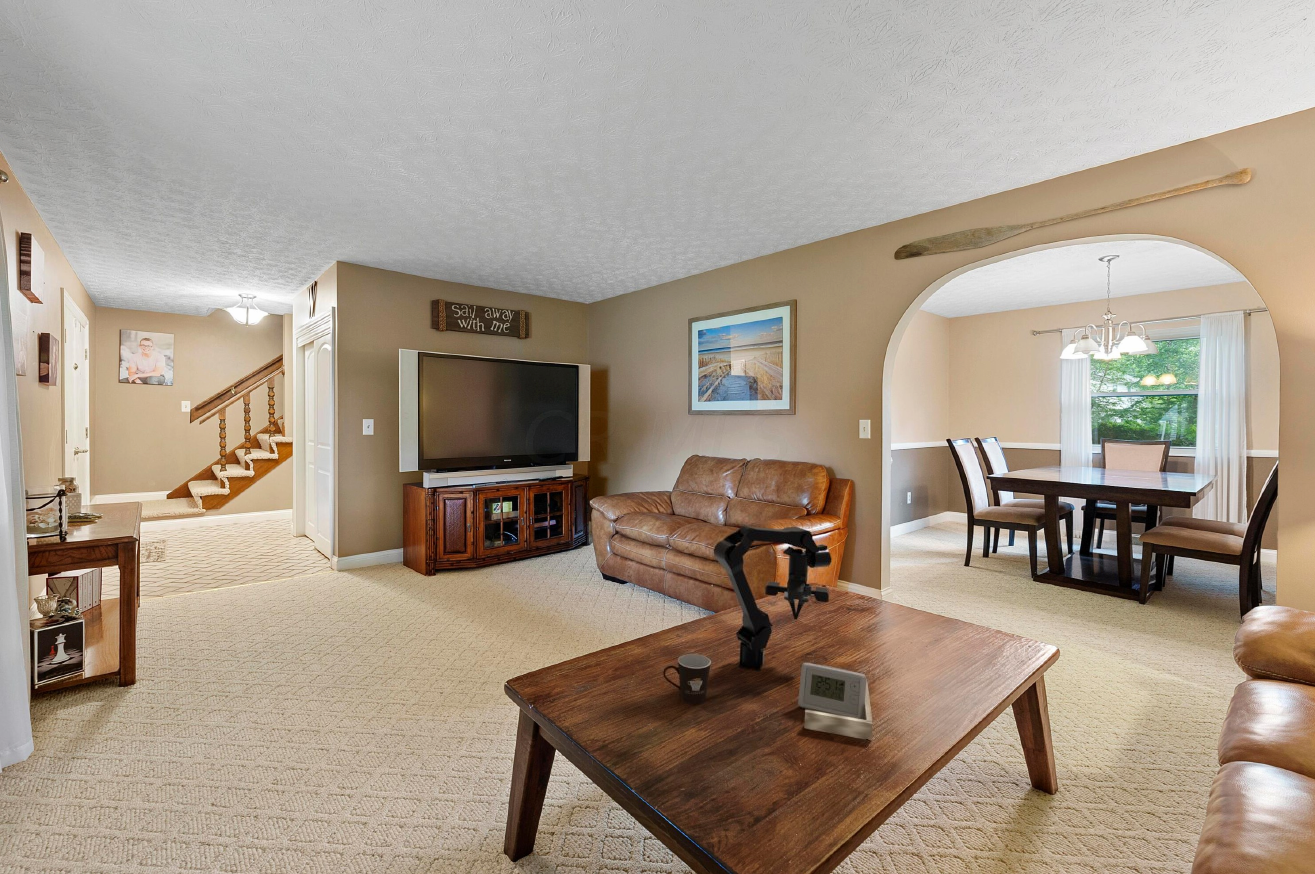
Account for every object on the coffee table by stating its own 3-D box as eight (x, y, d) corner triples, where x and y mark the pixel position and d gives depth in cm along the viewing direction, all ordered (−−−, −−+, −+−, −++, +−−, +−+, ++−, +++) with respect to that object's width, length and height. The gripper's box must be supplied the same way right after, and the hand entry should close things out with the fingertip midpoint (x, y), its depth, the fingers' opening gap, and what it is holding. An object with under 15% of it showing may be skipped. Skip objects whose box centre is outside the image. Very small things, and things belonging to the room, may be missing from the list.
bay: (804, 728, 141) (805, 711, 141) (808, 684, 164) (809, 670, 163) (871, 740, 137) (872, 723, 137) (866, 694, 159) (867, 679, 159)
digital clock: (794, 707, 151) (796, 666, 151) (807, 694, 159) (809, 655, 158) (858, 728, 142) (861, 685, 141) (869, 713, 149) (871, 672, 149)
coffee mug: (712, 694, 156) (714, 657, 156) (704, 709, 148) (706, 670, 148) (671, 685, 160) (672, 649, 160) (660, 700, 152) (662, 662, 152)
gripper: (764, 572, 175) (762, 623, 176) (829, 579, 170) (827, 632, 171) (768, 563, 186) (766, 611, 187) (829, 569, 180) (827, 619, 181)
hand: (795, 619), depth 181 cm, fingers closed
